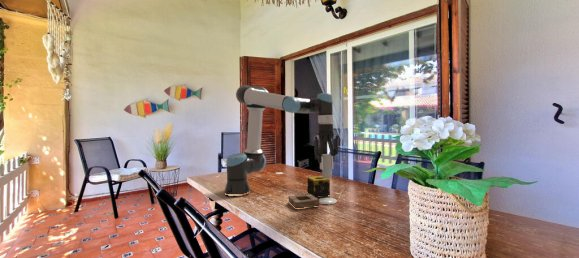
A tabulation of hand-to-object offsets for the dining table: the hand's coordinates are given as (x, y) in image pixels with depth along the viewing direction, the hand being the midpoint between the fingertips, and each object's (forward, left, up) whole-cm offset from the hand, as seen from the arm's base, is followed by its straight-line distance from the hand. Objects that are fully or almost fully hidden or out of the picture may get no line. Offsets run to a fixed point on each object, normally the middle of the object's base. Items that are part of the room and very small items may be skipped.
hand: (326, 168), depth 139 cm
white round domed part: (0, 0, -17) cm, 17 cm away
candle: (-14, +1, -18) cm, 23 cm away
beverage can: (0, 0, -5) cm, 5 cm away
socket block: (0, -13, -17) cm, 22 cm away
